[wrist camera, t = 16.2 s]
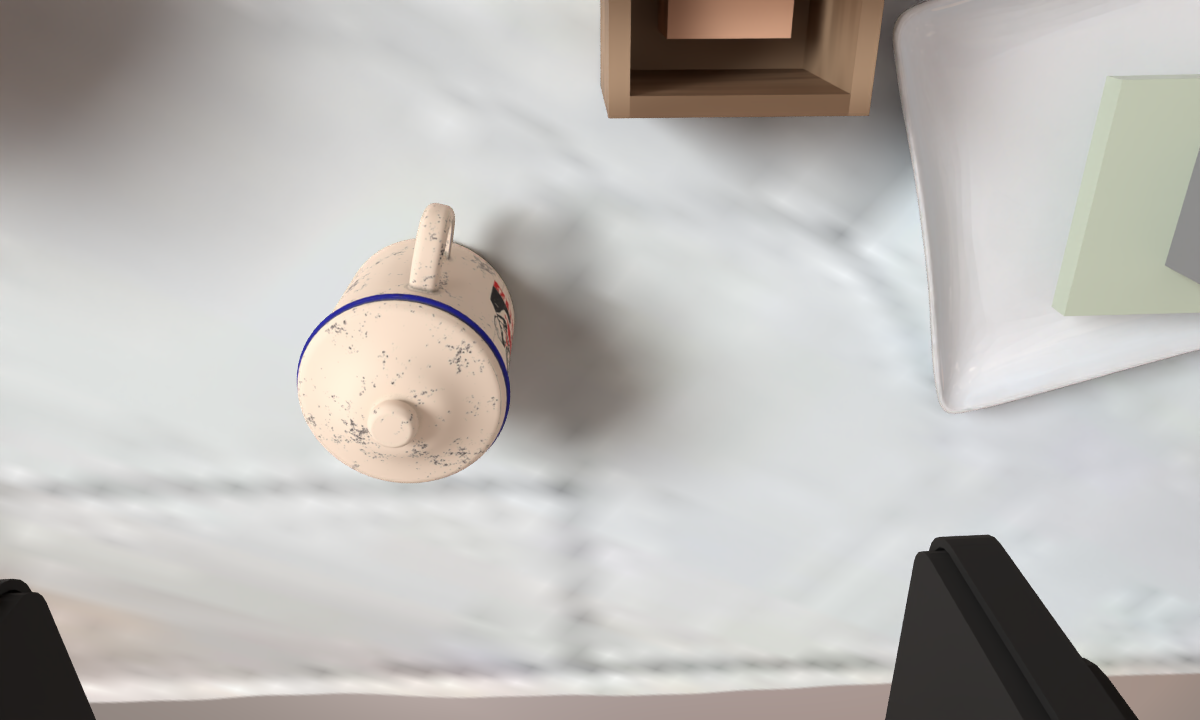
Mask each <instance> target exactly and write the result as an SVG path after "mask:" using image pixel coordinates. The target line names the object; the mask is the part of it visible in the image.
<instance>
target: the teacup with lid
mask: <svg viewBox="0 0 1200 720" xmlns="http://www.w3.org/2000/svg"><path fill="white" fill-rule="evenodd" d="M454 226H455V214H454V211H453V209H452V208H451V207H450V206H447V205H443V204H439V203H432V204H430V205H428V206H427V207H426V209H425V210H424V212H423V215H422V217H421V221H420V224H419V228H418V232H417V237H416V239H409V240H404V241H400V242H397V243H394V244H392V245H389V246H387V247H385V248H383V249H382V250H380V251H378V252H377V253H376V254H374V255H373V256H371V257H370V258H369V259H368V260H367V261H366V262H365V263H364V264H363V265H362V267H361V268H360V269H359V270H358V272H357V273H356V275H355V276H354V278H353V280H352V281H351V283H350V284H349V286H348V288H347V289H346V291H345V292H344V294H343V296H342V297H341V299H340V300H339V302H338V304H337V305H336V307H335V308H334V310H333V311H332V313H331V314H330V315H329V316H328V317H326V318H325V319H324V320H323V321H322V322H321V323H320V324H319V325H318V326H317V327H316V329H315V330H314V331H313V333H312V334H311V335H310V337H309V338H308V340H307V342H306V344H305V346H304V348H303V351H302V353H301V356H300V360H299V364H298V370H297V389H298V397H299V402H300V406H301V409H302V413H303V415H304V417H305V420H306V422H307V424H308V426H309V427H310V429H311V431H312V432H313V434H314V435H315V437H316V438H317V439H318V441H319V442H320V443H321V444H322V445H323V446H324V447H325V448H326V449H327V450H328V451H329V452H330V453H331V454H332V455H333V456H334V457H336V458H337V459H338V460H340V461H341V462H342V463H344V464H345V465H347V466H349V467H350V468H352V469H354V470H356V471H358V472H360V473H362V474H365V475H368V476H370V477H373V478H377V479H380V480H385V481H390V482H398V483H421V482H428V481H433V480H438V479H441V478H445V477H448V476H450V475H453V474H455V473H457V472H459V471H461V470H463V469H465V468H466V467H468V466H470V465H471V464H473V463H474V462H475V461H476V460H478V459H479V458H480V457H481V456H482V455H483V454H484V453H485V452H486V451H487V450H488V449H489V448H490V447H491V446H492V444H493V443H494V442H495V440H496V439H497V437H498V436H499V434H500V432H501V430H502V428H503V426H504V424H505V421H506V418H507V415H508V411H509V404H510V383H509V377H508V370H509V362H510V355H511V347H512V340H513V332H514V310H513V304H512V301H511V297H510V294H509V292H508V289H507V287H506V286H505V284H504V282H503V280H502V279H501V277H500V276H499V274H498V273H497V272H496V271H495V269H494V268H493V267H492V266H491V265H490V264H489V263H488V262H486V261H485V260H484V259H483V258H482V257H480V256H479V255H477V254H476V253H474V252H473V251H471V250H469V249H467V248H465V247H463V246H461V245H458V244H456V243H453V235H454Z"/></svg>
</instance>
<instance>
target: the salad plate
mask: <svg viewBox="0 0 1200 720" xmlns="http://www.w3.org/2000/svg"><path fill="white" fill-rule="evenodd" d="M892 38H893V50H894V58H895V66H896V73H897V80H898V86H899V92H900V98H901V104H902V110H903V115H904V121H905V126H906V132H907V138H908V143H909V148H910V154H911V160H912V165H913V171H914V178H915V184H916V191H917V198H918V205H919V212H920V220H921V229H922V237H923V245H924V253H925V262H926V271H927V281H928V293H929V307H930V328H931V347H932V361H933V372H934V379H935V387H936V392H937V396H938V401H939V403H940V405H941V407H942V408H943V409H944V411H945V412H947V413H952V414H957V413H965V412H969V411H974V410H979V409H983V408H988V407H992V406H996V405H1000V404H1003V403H1008V402H1012V401H1015V400H1019V399H1022V398H1026V397H1030V396H1033V395H1037V394H1040V393H1044V392H1048V391H1051V390H1055V389H1059V388H1062V387H1066V386H1069V385H1073V384H1077V383H1080V382H1084V381H1087V380H1091V379H1094V378H1098V377H1102V376H1105V375H1108V374H1112V373H1116V372H1119V371H1123V370H1126V369H1130V368H1133V367H1137V366H1141V365H1144V364H1148V363H1152V362H1155V361H1159V360H1163V359H1167V358H1170V357H1174V356H1178V355H1181V354H1185V353H1189V352H1192V351H1196V350H1200V313H1168V314H1130V315H1092V316H1063V315H1062V314H1060V313H1059V312H1058V311H1056V310H1055V309H1054V308H1053V307H1052V302H1053V298H1054V294H1055V290H1056V286H1057V282H1058V277H1059V273H1060V269H1061V265H1062V261H1063V257H1064V252H1065V248H1066V244H1067V240H1068V236H1069V231H1070V227H1071V223H1072V219H1073V215H1074V211H1075V206H1076V202H1077V198H1078V194H1079V190H1080V186H1081V181H1082V177H1083V173H1084V169H1085V165H1086V161H1087V156H1088V152H1089V148H1090V144H1091V140H1092V135H1093V131H1094V127H1095V123H1096V119H1097V115H1098V110H1099V106H1100V102H1101V98H1102V94H1103V90H1104V85H1105V81H1106V77H1107V76H1131V75H1181V74H1200V0H929V1H926V2H924V3H921V4H918V5H916V6H914V7H912V8H910V9H908V10H906V11H905V12H903V13H902V14H901V15H900V16H899V17H898V19H897V21H896V22H895V25H894V29H893V35H892Z"/></svg>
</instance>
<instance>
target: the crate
mask: <svg viewBox="0 0 1200 720" xmlns="http://www.w3.org/2000/svg"><path fill="white" fill-rule="evenodd" d="M600 1H601V89H602V93H603V97H604V101H605V106H606V110H607V114H608V118H686V117H785V116H869V111H870V104H871V96H872V89H873V81H874V74H875V67H876V59H877V52H878V44H879V37H880V29H881V22H882V15H883V7H884V0H600Z"/></svg>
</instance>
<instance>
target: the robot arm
mask: <svg viewBox="0 0 1200 720" xmlns="http://www.w3.org/2000/svg"><path fill="white" fill-rule="evenodd" d="M0 720H96V719H95V716H94V714H93V712H92V709H91V707H90V705H89V702H88V700H87V697H86V695H85V693H84V690H83V688H82V686H81V683H80V681H79V679H78V676H77V674H76V671H75V669H74V667H73V664H72V662H71V660H70V657H69V655H68V652H67V650H66V648H65V645H64V643H63V641H62V638H61V636H60V634H59V631H58V629H57V626H56V624H55V622H54V619H53V617H52V615H51V612H50V610H49V608H48V605H47V603H46V601H45V599H44V598H43V596H42V595H40V594H39V593H36V592H32V591H31V590H30V588H29V587H28V585H27V584H26V583H24V582H23V581H21V580H17V579H1V580H0ZM885 720H1138V718H1137V717H1136V715H1135V714H1134V713H1133V711H1132V710H1131V709H1130V707H1129V706H1128V704H1127V703H1126V702H1125V700H1124V699H1123V698H1122V696H1121V695H1120V694H1119V692H1118V691H1117V689H1116V688H1115V687H1114V685H1113V684H1112V683H1111V681H1110V680H1109V678H1108V677H1107V676H1106V675H1105V674H1104V673H1103V672H1102V671H1101V670H1100V668H1099V667H1098V666H1097V665H1095V664H1094V663H1092V662H1090V661H1089V660H1087V659H1085V658H1082V657H1081V656H1080V654H1079V653H1078V652H1077V650H1076V649H1075V647H1074V646H1073V645H1072V643H1071V642H1070V640H1069V639H1068V638H1067V636H1066V635H1065V633H1064V632H1063V631H1062V629H1061V628H1060V626H1059V625H1058V624H1057V622H1056V621H1055V619H1054V618H1053V617H1052V615H1051V614H1050V612H1049V611H1048V610H1047V608H1046V607H1045V605H1044V604H1043V603H1042V601H1041V600H1040V598H1039V597H1038V596H1037V594H1036V593H1035V591H1034V590H1033V589H1032V587H1031V586H1030V584H1029V583H1028V582H1027V580H1026V579H1025V577H1024V576H1023V575H1022V573H1021V572H1020V570H1019V569H1018V568H1017V566H1016V565H1015V563H1014V562H1013V561H1012V559H1011V558H1010V556H1009V555H1008V554H1007V552H1006V551H1005V549H1004V548H1003V547H1002V545H1001V544H1000V543H999V542H998V541H997V539H996V538H995V537H993V536H990V535H972V536H950V537H938V538H935V539H934V540H933V542H932V543H931V546H930V549H929V551H922V552H918V554H917V555H916V557H915V560H914V565H913V570H912V576H911V581H910V587H909V592H908V598H907V603H906V609H905V614H904V620H903V625H902V631H901V636H900V642H899V647H898V653H897V658H896V663H895V669H894V674H893V680H892V685H891V691H890V697H889V702H888V707H887V713H886V718H885Z"/></svg>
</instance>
